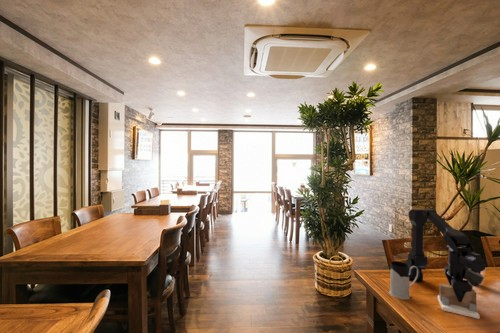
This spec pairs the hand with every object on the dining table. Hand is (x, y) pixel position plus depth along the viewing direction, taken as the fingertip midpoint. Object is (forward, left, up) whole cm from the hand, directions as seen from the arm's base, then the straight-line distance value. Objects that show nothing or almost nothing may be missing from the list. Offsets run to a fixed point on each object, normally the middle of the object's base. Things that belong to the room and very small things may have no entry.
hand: (456, 296), depth 105 cm
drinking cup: (+14, +33, -5) cm, 36 cm away
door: (0, 0, -3) cm, 3 cm away
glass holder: (-19, +1, -5) cm, 20 cm away
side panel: (0, 0, -5) cm, 5 cm away
